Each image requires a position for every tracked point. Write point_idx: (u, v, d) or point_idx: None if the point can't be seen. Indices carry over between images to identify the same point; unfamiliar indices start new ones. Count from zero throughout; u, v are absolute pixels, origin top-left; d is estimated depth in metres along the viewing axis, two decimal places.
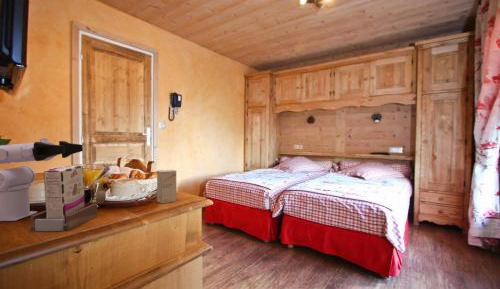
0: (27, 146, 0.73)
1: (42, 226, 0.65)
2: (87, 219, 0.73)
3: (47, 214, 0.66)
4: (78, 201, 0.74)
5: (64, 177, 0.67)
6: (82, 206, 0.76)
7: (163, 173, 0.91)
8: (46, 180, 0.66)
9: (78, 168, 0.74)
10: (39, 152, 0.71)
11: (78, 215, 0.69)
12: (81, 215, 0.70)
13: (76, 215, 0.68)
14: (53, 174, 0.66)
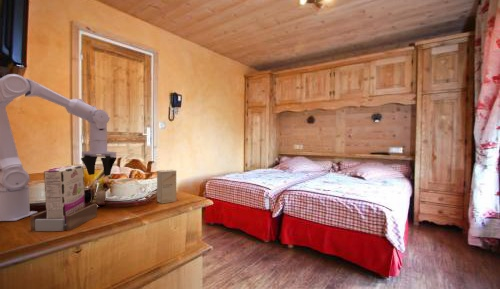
0: (106, 144, 0.96)
1: (42, 226, 0.65)
2: (87, 219, 0.73)
3: (47, 214, 0.66)
4: (78, 201, 0.74)
5: (64, 177, 0.67)
6: (82, 206, 0.76)
7: (163, 173, 0.91)
8: (47, 180, 0.66)
9: (78, 168, 0.74)
10: None
11: (78, 215, 0.69)
12: (81, 215, 0.70)
13: (76, 215, 0.68)
14: (54, 174, 0.66)
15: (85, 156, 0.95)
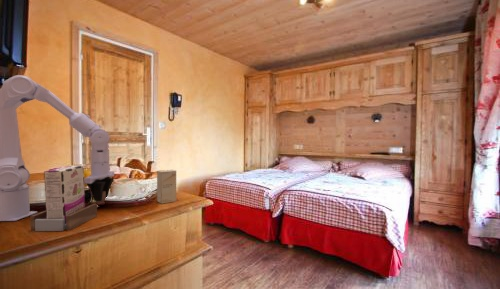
0: (101, 167, 0.86)
1: (42, 226, 0.65)
2: (87, 219, 0.73)
3: (47, 214, 0.66)
4: (78, 201, 0.74)
5: (64, 177, 0.67)
6: (82, 206, 0.76)
7: (163, 173, 0.91)
8: (47, 180, 0.66)
9: (78, 168, 0.74)
10: None
11: (78, 215, 0.69)
12: (81, 215, 0.70)
13: (76, 215, 0.68)
14: (54, 174, 0.66)
15: None
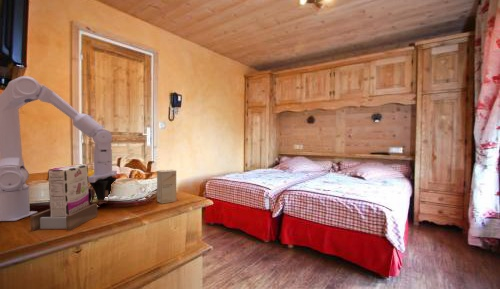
0: (104, 166, 0.88)
1: (47, 224, 0.67)
2: (87, 219, 0.73)
3: (51, 212, 0.67)
4: (82, 200, 0.75)
5: (68, 176, 0.68)
6: (86, 205, 0.77)
7: (163, 173, 0.91)
8: (51, 179, 0.67)
9: (82, 167, 0.75)
10: None
11: (78, 215, 0.69)
12: (81, 215, 0.70)
13: (76, 215, 0.68)
14: (57, 173, 0.67)
15: None
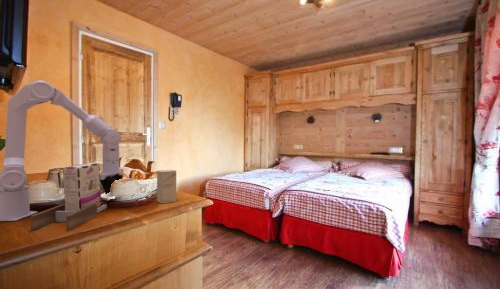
0: (112, 164, 0.93)
1: (62, 217, 0.72)
2: (87, 219, 0.73)
3: (66, 206, 0.73)
4: (94, 196, 0.80)
5: (80, 174, 0.73)
6: (98, 201, 0.82)
7: (163, 173, 0.91)
8: (65, 175, 0.72)
9: (94, 165, 0.80)
10: None
11: (78, 215, 0.69)
12: (81, 215, 0.70)
13: (76, 215, 0.68)
14: (71, 171, 0.72)
15: None
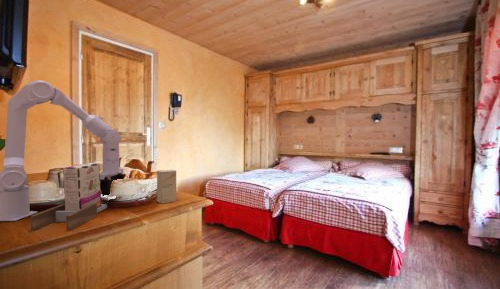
0: (112, 164, 0.93)
1: (62, 217, 0.72)
2: (87, 219, 0.73)
3: (66, 207, 0.73)
4: (94, 196, 0.80)
5: (80, 174, 0.73)
6: (98, 201, 0.82)
7: (163, 173, 0.91)
8: (65, 175, 0.72)
9: (94, 165, 0.80)
10: None
11: (78, 215, 0.69)
12: (81, 215, 0.70)
13: (76, 215, 0.68)
14: (71, 171, 0.72)
15: None
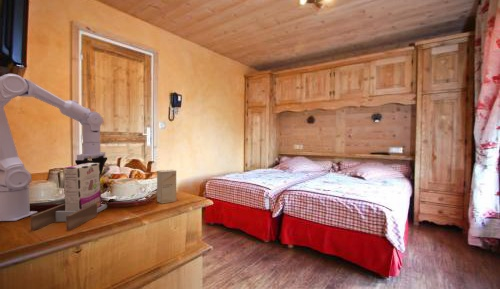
0: (92, 146, 0.93)
1: (62, 217, 0.72)
2: (87, 219, 0.73)
3: (66, 207, 0.73)
4: (94, 196, 0.80)
5: (80, 174, 0.73)
6: (98, 201, 0.82)
7: (163, 173, 0.91)
8: (65, 175, 0.72)
9: (94, 165, 0.80)
10: (82, 161, 0.91)
11: (78, 215, 0.69)
12: (81, 215, 0.70)
13: (76, 215, 0.68)
14: (71, 171, 0.72)
15: None
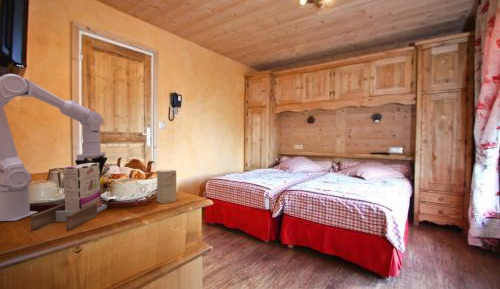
0: (92, 146, 0.93)
1: (62, 217, 0.72)
2: (87, 219, 0.73)
3: (66, 207, 0.73)
4: (94, 196, 0.80)
5: (80, 174, 0.73)
6: (98, 201, 0.82)
7: (163, 173, 0.91)
8: (65, 175, 0.72)
9: (94, 165, 0.80)
10: (82, 161, 0.91)
11: (78, 215, 0.69)
12: (81, 215, 0.70)
13: (76, 215, 0.68)
14: (71, 171, 0.72)
15: None
